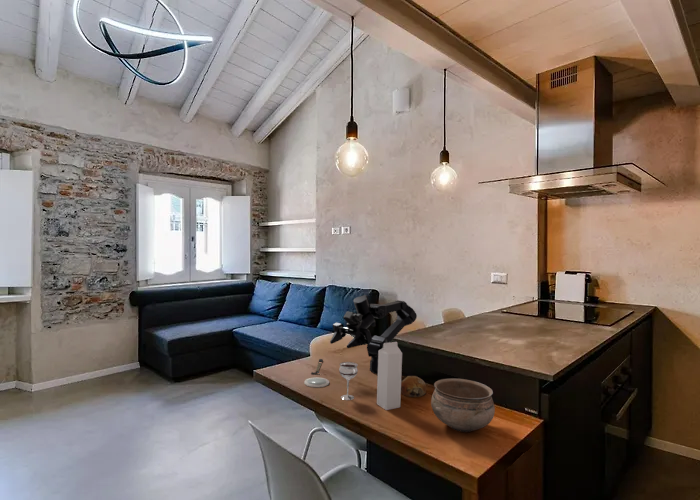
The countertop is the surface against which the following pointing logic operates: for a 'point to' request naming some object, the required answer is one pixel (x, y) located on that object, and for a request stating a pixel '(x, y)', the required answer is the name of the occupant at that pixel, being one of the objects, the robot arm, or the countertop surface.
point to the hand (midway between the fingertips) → (338, 345)
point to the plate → (316, 382)
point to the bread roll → (413, 386)
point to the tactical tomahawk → (317, 368)
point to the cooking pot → (463, 404)
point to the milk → (389, 376)
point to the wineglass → (348, 375)
